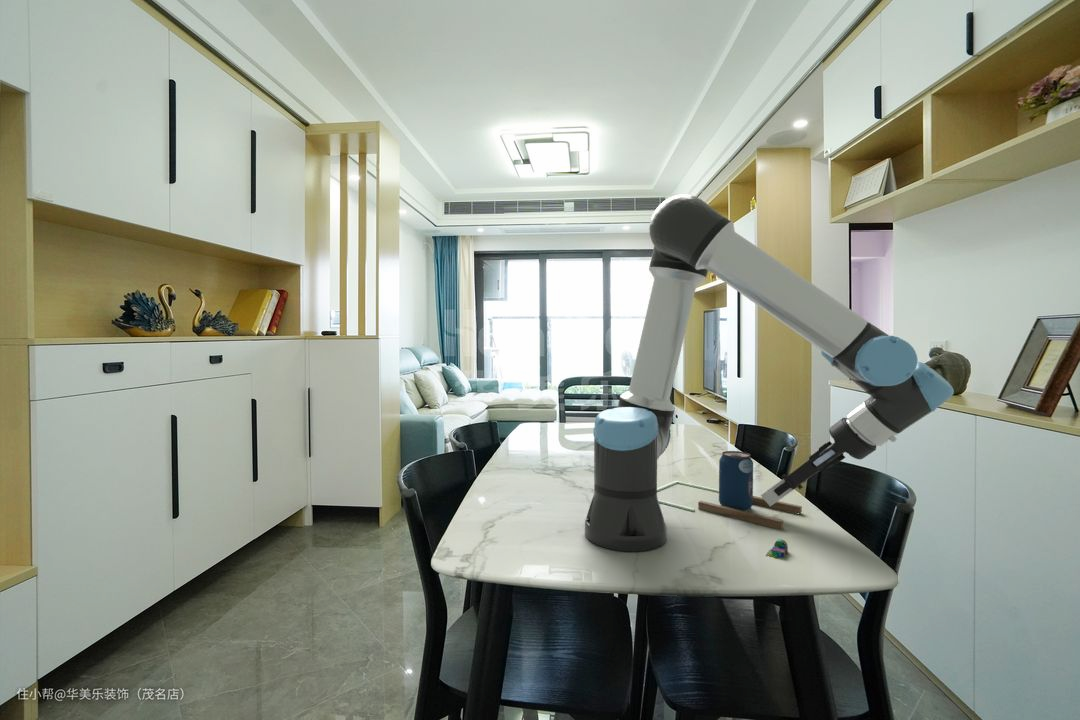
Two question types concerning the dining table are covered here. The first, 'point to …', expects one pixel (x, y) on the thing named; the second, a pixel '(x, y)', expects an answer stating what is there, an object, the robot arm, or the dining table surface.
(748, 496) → the soda can
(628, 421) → the robot arm
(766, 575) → the dining table surface
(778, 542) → the multicolored toy figure
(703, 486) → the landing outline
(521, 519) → the dining table surface
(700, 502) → the walnut rails
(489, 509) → the dining table surface
